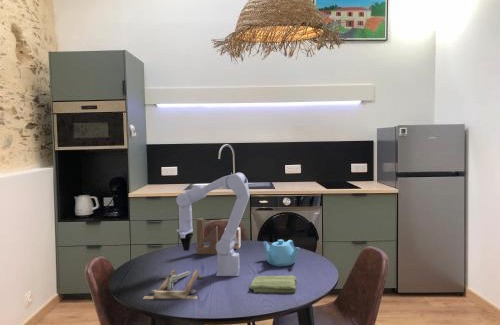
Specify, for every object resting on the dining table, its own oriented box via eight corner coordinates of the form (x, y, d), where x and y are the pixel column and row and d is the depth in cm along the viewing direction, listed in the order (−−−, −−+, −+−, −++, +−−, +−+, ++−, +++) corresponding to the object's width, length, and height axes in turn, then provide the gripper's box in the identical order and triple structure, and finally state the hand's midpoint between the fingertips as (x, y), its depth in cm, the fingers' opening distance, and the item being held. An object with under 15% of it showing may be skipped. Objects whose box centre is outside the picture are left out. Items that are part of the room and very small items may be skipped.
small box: (224, 248, 202) (223, 229, 202) (226, 245, 208) (226, 226, 207) (239, 249, 201) (238, 229, 200) (241, 246, 206) (240, 227, 206)
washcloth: (253, 280, 156) (253, 273, 156) (296, 282, 154) (296, 274, 153) (249, 293, 143) (249, 285, 143) (296, 295, 141) (296, 286, 140)
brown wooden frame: (217, 254, 192) (216, 219, 191) (196, 254, 193) (195, 219, 192) (218, 252, 195) (217, 218, 194) (198, 252, 196) (197, 218, 195)
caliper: (169, 291, 146) (169, 275, 146) (167, 291, 147) (166, 275, 146) (190, 273, 166) (190, 259, 166) (188, 273, 166) (188, 259, 166)
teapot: (300, 267, 170) (300, 243, 170) (267, 269, 169) (267, 245, 168) (293, 257, 185) (293, 235, 185) (263, 258, 184) (262, 236, 184)
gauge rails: (208, 273, 165) (208, 267, 165) (196, 299, 138) (196, 292, 138) (162, 273, 166) (162, 268, 166) (142, 299, 139) (142, 292, 139)
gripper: (180, 216, 175) (181, 245, 175) (172, 223, 160) (173, 255, 161) (195, 216, 174) (196, 245, 175) (189, 223, 160) (190, 255, 160)
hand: (186, 250), depth 168 cm, fingers closed
